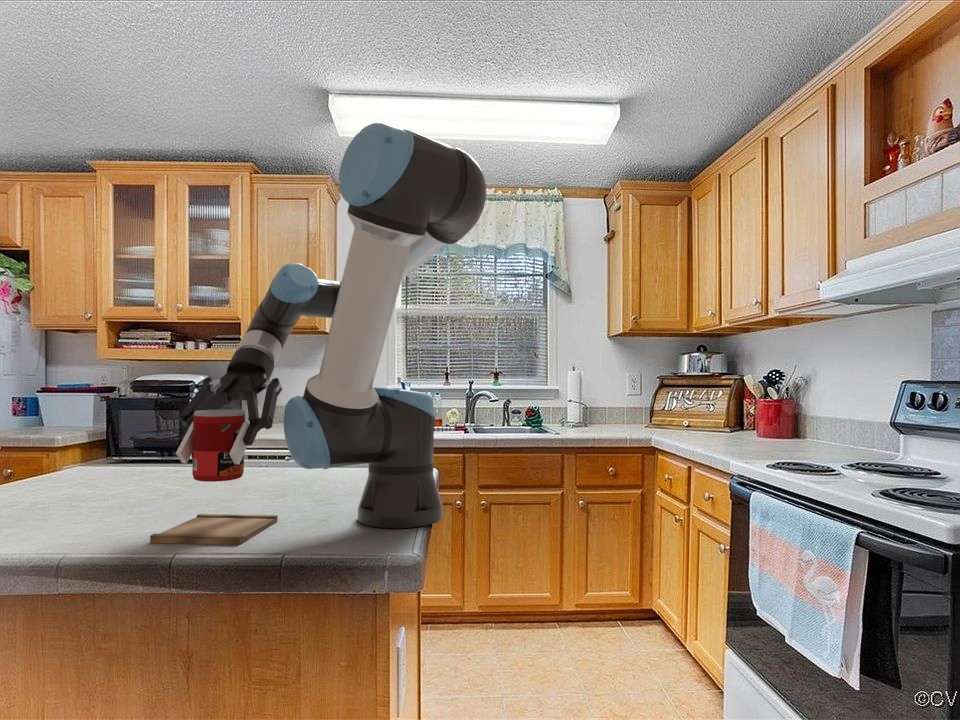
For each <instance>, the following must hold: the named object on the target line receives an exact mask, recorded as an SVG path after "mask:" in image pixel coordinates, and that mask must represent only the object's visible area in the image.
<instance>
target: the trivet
mask: <svg viewBox="0 0 960 720" xmlns="http://www.w3.org/2000/svg"><path fill="white" fill-rule="evenodd" d="M278 517H279V516H278V515H277V514H276V515H275V514H272V515H271V514H270V515H269V514H267V515H266V514H224V513H223V514H222V513H221V514H219V513H217V514H215V513H198V514H197V515H196V517H194V518H191V519H189V520H187V521H185V522H182V523H180V524H178V525H176V526H173V527H171V528H169V529H166V530H164V531H162V532H160V533H153V534H151V535H150V536H149V543H150V544H184V545H187V544H189V545H191V544H192V543H193V544H192V545H194V544H195V545H227V544H230V545H231V544H232V545H231V546H234V545H239V546H240V545H242V544H243V542H244V543H245V542H247V541H249V540H250V539H252V538H253V537H256V536H257V535H258V534H260V533H262V532H263V531H265V530H266V529H268V528H270V527H271V526H273V525H275V524H276V523H278V519H279V518H278ZM269 526H270V527H269ZM264 529H265V530H264ZM261 531H262V532H261ZM256 534H257V535H256Z"/></svg>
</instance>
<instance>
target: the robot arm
mask: <svg viewBox="0 0 960 720" xmlns="http://www.w3.org/2000/svg"><path fill="white" fill-rule="evenodd" d="M343 154H344V155H343V156H342V157H343V158H342V159H341V162H340V167H339V172H338V180H339V182H340V183H339V185H338V189H339V193H340V195H341V197H342V198H343V200H344V201H345V202H347V204H348V208H347V211H346V212H347V213H346V214H347V216H348V218H349V220H350V222H351V223H352V225H353V228H354V229H353V233H352V237H351V240H350V245H349V250H348V252H347V256H346V257H347V258H346V262H345V265H344V269H343V274H342V277H341V280H340V281H339V280H333V279H332V280H331V279H323V278H318V275H317V274H316V273H315V272H314V271H313V270H312V269H311V268H310V267H308V266H304V265H303V264H302V263H299V262H289V263H286V264H284V265H283V266H281V268H280V269H279V270H278V272H277V273H276V274H275V275H274V277H273V279H272V280H271V281H270V282H271V283H270V285H269V287H268V290H267V292H266V294H265V296H264V298H263V299H262V301H260V303H259V304H258V306H257V308H256V310H255V312H254V313H253V317H252V319H251V321H250V322H249V325H248V327H247V329H246V331H245V332H244V335H243V336H242V338H241V340H240V341H239V343H238V345H237V347H236V349H235V352H234V353H233V356H232V357H231V359H230V361H229V363H228V365H227V368H226V372H225V374H224V375H222V376H221V377H220V378H219V379H212V378H211V377H210V376H206V377H205V378H204V379H203V381H202V386H201V387H200V388H199V389H198V391H197V392H196V393H195V395H194V396H193V397H192V398H191V400H190V401H189V402H188V404H187V405H186V406H185V407H184V408H183V409H182V411H181V413H180V414H179V415H178V418H179V421H180V422H181V424H182V425H183V427H184V429H183V431H182V433H181V435H180V440H181V442H180V445H179V446H178V448H177V450H176V452H175V455H176V456H177V458H178V459H179V461H180V462H181V463H182V464H187V463H188V462H189V460H190V458H191V456H192V455H193V420H194V412H195V411H199V410H222V409H223V408H224V407H225V406H229V405H230V404H231V403H232V402H233V401H239V400H241V401H246V405H247V407H246V408H247V415H248V416H247V417H248V418H247V420H248V421H245V422H243V425H242V427H241V429H240V431H239V433H238V436H237V438H236V440H235V442H234V445H233V447H232V449H231V451H230V453H229V455H230V456H231V458H232V460H233V462H234V464H240V462H241V459H242V457H243V455H244V456H245V453H246V451H247V450H246V449H247V447H248V446H252V445H253V444H254V442H255V439H256V437H257V434H258V432H260V431H261V430H262V429H265V430H270V429H272V428H273V423H274V419H275V413H276V407H277V402H278V397H279V395H280V394H281V392H282V390H283V387H282V385H281V382H280V380H279V378H278V377H275V378H272V379H271V377H272V375H273V372H274V369H275V367H276V365H277V362H278V360H279V358H280V355H281V354H282V351H283V348H284V346H285V344H286V342H287V340H288V337H289V336H290V334H291V332H292V330H293V329H294V327H295V326H296V324H297V323H298V321H299V320H300V318H301V317H303V316H304V317H314V318H325V319H326V318H327V319H329V318H330V319H331V321H330V322H331V323H330V326H329V332H328V335H327V338H326V339H327V340H326V343H325V347H324V352H323V355H322V360H321V364H320V367H319V371H318V373H317V374H314V375H313V376H311V377H309V378H308V379H307V381H306V383H305V388H304V392H303V395H302V396H301V395H296V396H294V397H291V398H290V399H289V400H288V401H287V402H286V404H285V407H284V410H283V411H284V412H283V421H282V422H283V434H284V439H285V441H286V442H285V444H286V447H287V449H288V452H289V454H290V457H291V458H292V460H293V461H294V462H295V463H296V464H297V465H298V466H299V467H301V468H303V469H306V470H318V469H323V470H328V469H330V468H338V467H339V468H340V467H349V466H356V465H364V464H365V465H366V464H368V474H367V475H368V476H367V479H366V482H365V486H364V488H363V491H362V495H361V498H360V501H359V504H358V506H357V520H358V522H359V523H360V524H363V525H365V526H369V527H374V528H382V529H407V528H409V529H410V528H411V529H412V528H418V527H425V526H430V525H433V524H436V523H438V522H440V521H441V520H443V516H444V514H443V513H444V508H443V507H444V505H443V502H442V499H441V496H440V495H441V494H440V493H439V489H438V486H437V483H436V479H435V475H434V435H435V432H434V431H435V420H436V415H435V412H434V411H435V409H434V408H435V407H434V399H433V398H432V397H431V395H430V394H428V393H426V392H422V391H415V390H408V389H402V388H401V389H397V388H389V387H374V386H373V384H374V383H375V382H374V381H375V377H376V374H377V370H378V367H379V362H380V359H381V356H382V352H383V349H384V344H385V341H386V339H387V338H386V337H387V334H388V331H389V326H390V324H391V319H392V316H393V313H394V308H395V305H396V301H397V297H398V294H399V291H400V287H401V284H402V281H403V280H404V279H405V278H407V277H408V276H409V275H410V274H411V273H412V272H413V271H415V270H416V269H417V268H418V267H420V266H421V265H422V264H423V263H424V262H425V261H427V260H428V259H430V257H431V256H433V255H434V254H435V253H436V252H437V251H438V250H440V249H441V248H442V247H444V245H446V246H450V245H451V246H452V245H455V244H456V243H457V242H459V241H460V240H462V238H464V237H465V236H466V235H467V234H468V233H469V232H470V231H471V230H472V229H473V228H474V227H475V225H476V224H477V223H478V221H479V220H480V218H481V215H482V214H483V212H484V209H485V205H486V201H487V185H486V180H485V176H484V173H483V171H482V169H481V167H480V165H479V164H478V162H477V161H476V160H475V159H474V158H473V157H472V156H471V155H470V154H469V153H467V152H466V151H464V150H463V149H461V148H459V147H456V146H453V145H448V144H446V143H443V142H441V141H438V140H435V139H433V138H430V137H428V136H425V135H423V134H420V133H418V132H415V131H412V130H411V129H410V130H409V129H407V128H405V127H400V126H397V125H393V124H389V123H385V122H373V123H371V124H368V125H366V126H364V127H363V128H362V129H361V130H360V131H359V132H358V133H357V134H355V136H354V137H353V138H352V139H351V141H350V143H349V144H348V145H347V148H346V149H345V152H344V153H343ZM270 379H271V380H270ZM264 390H266V391H265V395H264V402H263V406H262V411H261V414H259V407H258V404H259V402H258V395H259V394H260V393H262V392H263V391H264ZM260 415H261V416H260Z"/></svg>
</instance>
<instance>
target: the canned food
mask: <svg viewBox="0 0 960 720" xmlns="http://www.w3.org/2000/svg"><path fill="white" fill-rule="evenodd" d="M243 422H246V414H245V410H243V409H220V410H199V411H195V412H194V420H193V452H192V467H191V468H192V470H191V471H192V473H191V474H192V478H193V479H194V480H195V481H197V482H205V483H207V482H209V483H210V482H211V483H212V482H229V481H234V480H238V479H240V478H242V477H243V475H244V473H245V472H244V469H245V454H244V455H243V457H242V459H241V462H240V464H234V462H233V460H232V458H231V456H230V455H229V453H230V451H231V449H232V447H233V445H234V442H235V440H236V438H237V436H238V433H239V431H240V429H241V427H242V425H243Z"/></svg>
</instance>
